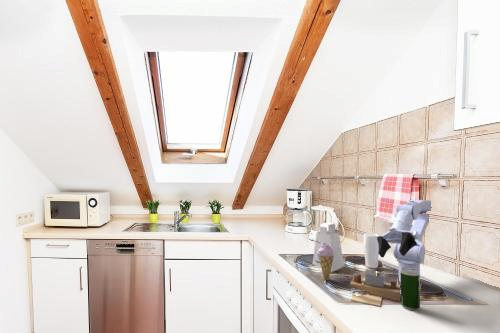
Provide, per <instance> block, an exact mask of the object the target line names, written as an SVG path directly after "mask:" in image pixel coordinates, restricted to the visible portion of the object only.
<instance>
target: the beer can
mask: <svg viewBox="0 0 500 333" xmlns="http://www.w3.org/2000/svg"><path fill="white" fill-rule="evenodd" d="M400 275H401V287H400V304H401V306H402V307H403V308H404V309H406V310H408V311H414V312H417V311H419V310H420V308H421V290H420V281H421V274H420V275H419V271H418V270H417V269H414V268H410V267H402V268H401V271H400Z"/></svg>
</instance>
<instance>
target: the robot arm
mask: <svg viewBox="0 0 500 333" xmlns="http://www.w3.org/2000/svg"><path fill="white" fill-rule="evenodd" d="M431 201H432V200H428V199H427V200H425V199H414V200H412V199H411V200H408V202H406V203H404V204H399V205H396V209H395V213H394V217H395V218H394V221H393V223H392V224H391V227H389V228H388V231H387V232H385V233H383V234H382V235H379V236H378V237H377V241H378V245H379V252H378V254H379V255H378V256H380V258H384V257H385V256H386V254H387V252H388V251H389V250H390V249H393V250H392V254H393V256H394V258H395V260H396V261H397V262H398V277H399V281H400V282H401V275H400V271H401V268H402V267H410V268H414V269H417V270H418V271H419V275H420V276H421V264H423V263H424V261H425V257H426V256H425V255H426V247H425V245H424V243H423V242H422V240H423V237H424V234H425V232H426V229H427V228H428V225H429V223H430V222H429V217H430V216H429V214H423V213H426V212H427V211H431V208H432V207H431ZM414 220H415V221H414ZM390 243H391V244H394V245H393V248H392V246H391V245H390Z"/></svg>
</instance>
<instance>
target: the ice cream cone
mask: <svg viewBox="0 0 500 333" xmlns="http://www.w3.org/2000/svg"><path fill="white" fill-rule="evenodd" d="M322 244H323V243H322ZM317 250H318V251H317V256H318V259H319V260H320V265H321V268H322V269H321V271H322V275H323V279H324V280H325V281H328V280H329V277H330V273H331V272H330V271H331V267H332V263H333V257H334V255H333V248H332V247H331V245H330V244H328V243H327V245H324V244H323V245H321V248H320V249H317ZM327 279H328V280H327Z"/></svg>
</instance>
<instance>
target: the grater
mask: <svg viewBox="0 0 500 333" xmlns="http://www.w3.org/2000/svg"><path fill="white" fill-rule="evenodd" d="M314 242H315V243H314V250H313V256H312V257H313V258H312V264H314V265H316V266H318V267H320V268H321V265H320V263H317V262H320V260H319V259H318V256H317V252H318V250H317V249H320V248H321V245H323V244H324V245H327V243H328V244H330V245H331V247H332V248H333V255H334V257H333V263H332V267H331V271H330V273H333V272H335V271H338V270H340V269H342V268H344V267H345V264H344V259H343V256H344V255H343V252H342V245H341V238H340V233H339V232H336V224H335V223H332V222H324V223H321V224H320V225H319V231H318V232H316V234H315V241H314ZM320 268H319V269H320Z"/></svg>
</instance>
